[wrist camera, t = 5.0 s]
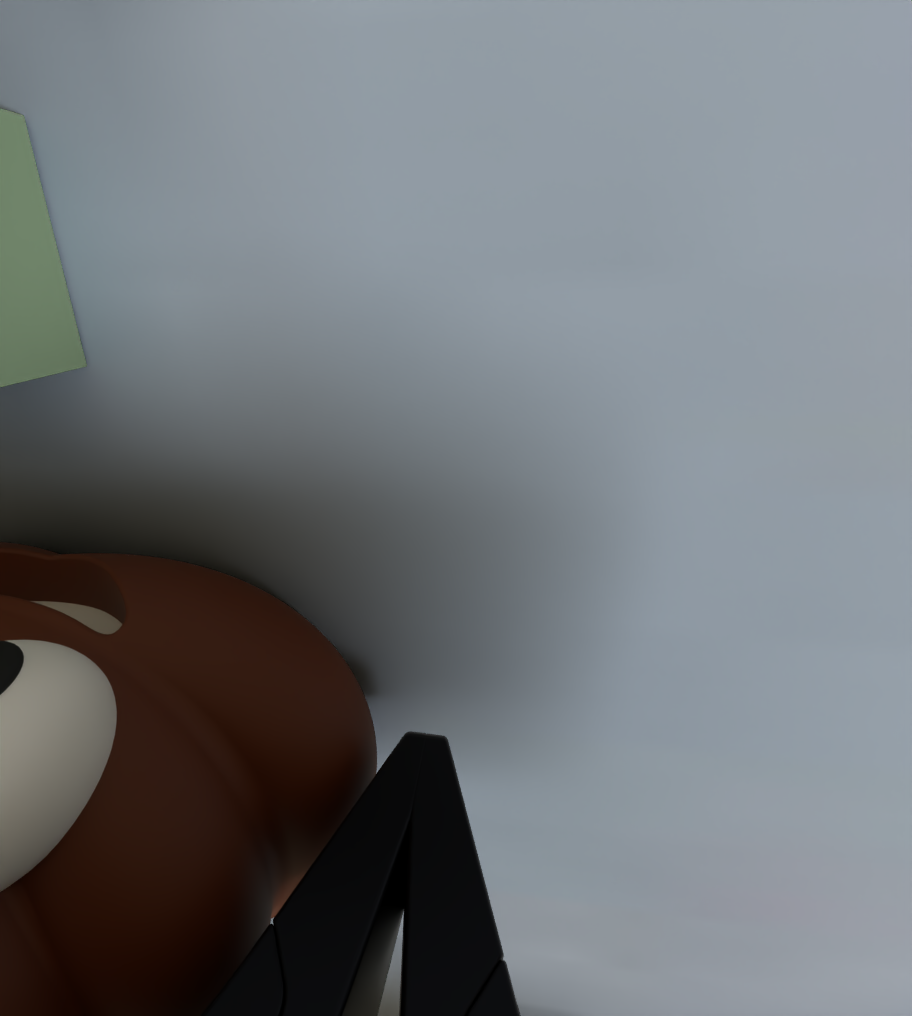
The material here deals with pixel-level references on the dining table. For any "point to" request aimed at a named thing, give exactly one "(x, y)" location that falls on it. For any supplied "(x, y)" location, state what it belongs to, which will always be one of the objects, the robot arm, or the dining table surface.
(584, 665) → the dining table surface
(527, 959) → the dining table surface
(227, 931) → the poop emoji
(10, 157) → the deck
